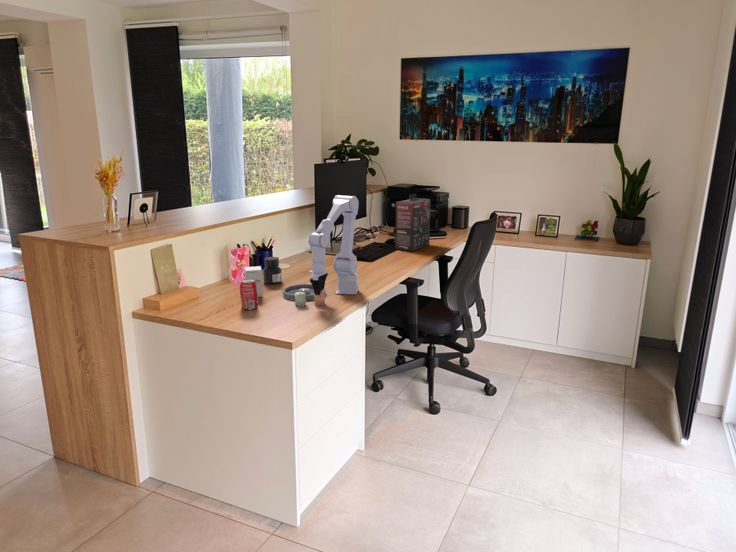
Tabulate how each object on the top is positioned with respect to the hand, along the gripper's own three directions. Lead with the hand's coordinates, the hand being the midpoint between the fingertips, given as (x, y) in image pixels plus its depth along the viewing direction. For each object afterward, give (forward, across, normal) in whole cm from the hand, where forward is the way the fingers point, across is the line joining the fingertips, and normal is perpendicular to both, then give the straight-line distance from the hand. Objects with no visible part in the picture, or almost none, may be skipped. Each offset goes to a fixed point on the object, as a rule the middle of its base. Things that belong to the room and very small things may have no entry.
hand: (319, 292), depth 235 cm
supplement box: (+6, -9, -32) cm, 34 cm away
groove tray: (+5, -13, -10) cm, 17 cm away
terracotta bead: (+5, 0, 0) cm, 5 cm away
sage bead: (+5, +2, -8) cm, 10 cm away
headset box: (+5, -121, +34) cm, 126 cm away
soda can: (+6, +9, -28) cm, 30 cm away
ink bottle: (+5, -31, -30) cm, 44 cm away
